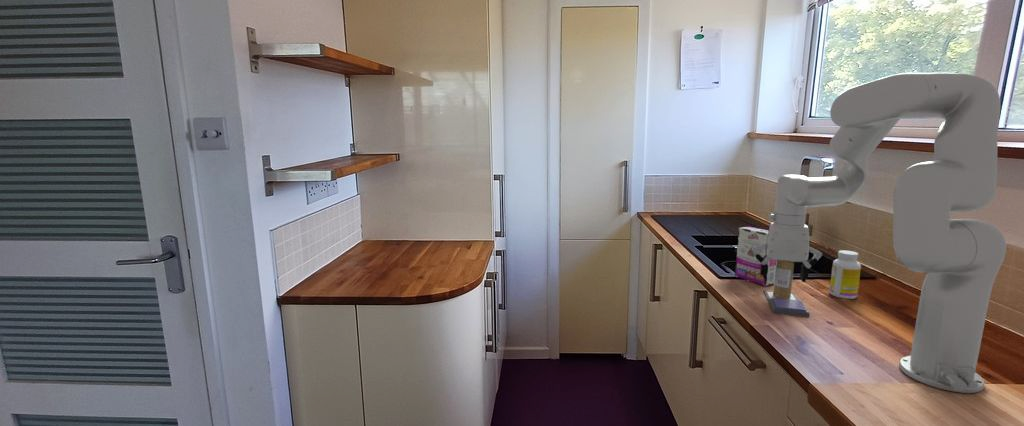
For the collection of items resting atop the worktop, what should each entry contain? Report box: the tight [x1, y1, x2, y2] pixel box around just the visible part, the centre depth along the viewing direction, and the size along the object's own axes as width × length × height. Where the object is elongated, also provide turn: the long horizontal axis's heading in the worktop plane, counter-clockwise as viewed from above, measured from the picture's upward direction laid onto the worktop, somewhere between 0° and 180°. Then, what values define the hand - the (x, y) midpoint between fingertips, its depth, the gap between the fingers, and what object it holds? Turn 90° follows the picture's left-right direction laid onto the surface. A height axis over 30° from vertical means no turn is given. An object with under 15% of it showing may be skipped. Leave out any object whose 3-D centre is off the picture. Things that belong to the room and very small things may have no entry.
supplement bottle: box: [829, 249, 862, 300], centre depth 137 cm, size 7×7×13 cm
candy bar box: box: [734, 226, 777, 287], centre depth 150 cm, size 11×5×16 cm, turn 27°
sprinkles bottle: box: [773, 260, 795, 299], centre depth 135 cm, size 5×5×14 cm
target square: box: [763, 289, 799, 302], centre depth 137 cm, size 8×8×1 cm
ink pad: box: [768, 298, 811, 318], centre depth 128 cm, size 8×8×2 cm
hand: (783, 278), depth 136 cm, fingers open, 9 cm apart
